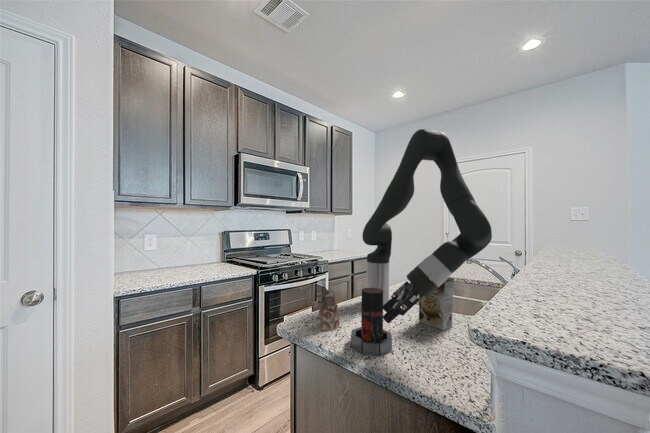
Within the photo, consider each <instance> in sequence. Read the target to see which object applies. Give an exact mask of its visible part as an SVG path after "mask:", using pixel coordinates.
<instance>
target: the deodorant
mask: <svg viewBox="0 0 650 433" xmlns="http://www.w3.org/2000/svg"><path fill="white" fill-rule="evenodd" d="M360 316H361V320H360V321H361V323H360V326H361V339H362V340H364V341H373V342H379V341H382V340H383V329H384V319H383V316H384V309H383V290H381V289H378V288H366V287H365V288H362V289H361V314H360Z"/></svg>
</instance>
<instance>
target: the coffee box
mask: <svg viewBox="0 0 650 433" xmlns="http://www.w3.org/2000/svg"><path fill="white" fill-rule="evenodd" d="M454 280H455V279H454V278H453V277H449V278H448V279H447V280H446V281H445V282H444V283H443V284H442V285H440V286H439V287H438V288H437V289H436V290H435V291H434V292H433V293H431V294H430V295H429V296H428V297H425V296H423V295H422V294H421V293H420V294H419V295H418V299H419V302H418V323H420V324H423V325H426V326H429V327H432V328H435V329H438V330H441V331H445V330H447V329H450V328H452V327H453V314H454V313H453V312H454V311H453V309H454V305H453V304H454V303H453V302H454V282H455V281H454Z"/></svg>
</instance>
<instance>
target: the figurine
mask: <svg viewBox="0 0 650 433" xmlns="http://www.w3.org/2000/svg"><path fill="white" fill-rule="evenodd" d="M321 300H322V301H321V302H322V303H321V304H320V305H319V308H318V315H317V321H316V322H317V325H316V326H317V328H318V329H319V330H322V331H327V332H328V331H329V332H332V331H336V330H338V329H339V328H340V317H339V307H338V303H337V299H336V293H335V292H334V291H333V290H332V289H327V288H326V287H324V288H323V295H322V297H321Z"/></svg>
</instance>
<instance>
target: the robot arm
mask: <svg viewBox="0 0 650 433" xmlns="http://www.w3.org/2000/svg"><path fill="white" fill-rule="evenodd" d="M422 161H433V162H434V163H435V165H436V166H437V168H438V169H439V172H440V184H439V189H440V194H441V197H442V199H443V202H444V203H445V205H446V208H447V210H448V211H449V213H450V215H451V216H452V217H453V219H454V222H455V224H456V227H457V229H458V230H459V234H458V235H457V236H456V237H455V238H454V239H452V240H451V241H446V242H443V243H442V244H441V245H440V246H439V247H437V248H436V249H435V250H434V251H433V252H432V253H431V254H430V255H428V256H426V257H425V258H424V259H423V260H422V261H420V263H419V264H417V266H416V267H414V268H413V269H412V270H411V271H410V272H409V273H408V274H407V275H406V279H407V280H408V281H405V282H403V284H401V286H400V287H398V288H397V289H396V290H395V291H393V292H392V295H391V298H390V258H391V256H392V244H393V243H392V241H393V233H392V228H391V225H390V224H389V223H388V222H389V221H390V220H392V219H393V218H395V217H396V216H398V215H399V214H401V213H402V212H404V211H405V209H406V208H407V207H408V205H409V203H410V202H411V200H412V198H413V196H414V193H415V181H414V180H415V179H414V175H415V172H416V170H417V168H418V166H419V165H420V163H421V162H422ZM393 175H394V176H393V177H392V179H391V182H390V183H389V185H388V186H387V188H386V190H385V192H384V194H383V196H382V198H381V201H380V202H379V203H378V206H377V207H376V209H375V211H374V212H373V214H372V215H371V216H370V218H369V219H368V221H367V222H366V224H365V226H364V227H363V230H362V241H363V243H364V244H365V245H367V246H377V247H376V248H375V250H373V251H372V252H370V253H368V254H367V255H366V287H365V288H378V289H381V290H383V311H385V312H386V313H385V314H383V321H385V323H387V324H390V323H391V322H393V320H395V319H396V318H397V317H398V316H405V315H406V313H408V312H409V311H410V310H411V309H412V308H414V306H415V305H416V304H417V303H419V294H420V293H421V294H422V295H423V296H425V297H428V296H429V295H430V294H431V293H433V292H434V291H435V290H436V289H437V288H438V287H439V286H440V285H442V284H443V283H444V282H445V281H446V280H447V279H448V278H450V276H451V275H452V274H453V273H455V272H456V271H457V270H458V269H459V268H460V267H461V266H462V265H463V264H465V262H467V261H468V260H470V259H471V258H472V257H474V256H476V255H478V254H479V253H480V252H481V251H483V250H484V249H485V248H486V247H487V246H488V245H489V244H490V242H491V241H492V236H493V233H492V227H491V224H490V221H489V220H488V218H487V216H486V215H485V213H484V212H483V210H482V209H481V208H480V207H479V205H478V204H477V202H476V200H475V198H474V196H473V194H472V192H471V191H470V188H469V187H468V185H467V184H466V182H465V179H464V178H463V175H462V173H461V170H460V168H459V164H458V162H457V158H456V155H455V152H454V149H453V145H452V144H451V140H450V138H449V137H448V135H447V134H446V133H445V132H443V131H439V130H434V129H427V128H420V129H417V130H416V131H415V132H414V133H413V135H411V137H410V140H409V142H408V143H407V146H406V148H405V151H404V153H403V156H402V158H401V160H400V163H399V165H398V167H397V169H396V172H395V173H394V174H393Z"/></svg>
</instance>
